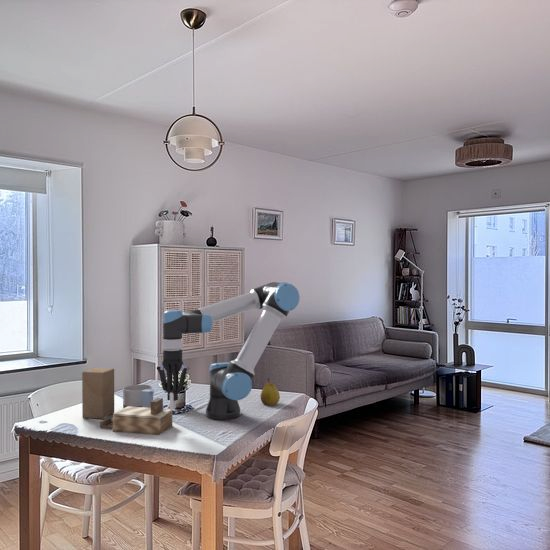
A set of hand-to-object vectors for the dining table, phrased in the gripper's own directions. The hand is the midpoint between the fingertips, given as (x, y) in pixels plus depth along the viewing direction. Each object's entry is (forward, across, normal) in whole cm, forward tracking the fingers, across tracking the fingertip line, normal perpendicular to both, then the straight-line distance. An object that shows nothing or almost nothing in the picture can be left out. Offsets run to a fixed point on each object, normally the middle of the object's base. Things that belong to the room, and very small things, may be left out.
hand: (172, 408), depth 207 cm
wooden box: (+9, +13, 0) cm, 16 cm away
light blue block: (+9, +18, -14) cm, 25 cm away
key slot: (+9, +26, 0) cm, 27 cm away
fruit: (+9, -28, -48) cm, 56 cm away
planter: (+9, +28, -24) cm, 38 cm away
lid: (+3, +13, 0) cm, 13 cm away
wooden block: (+9, +41, -13) cm, 44 cm away
